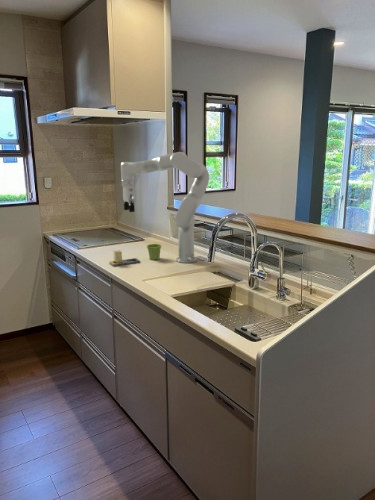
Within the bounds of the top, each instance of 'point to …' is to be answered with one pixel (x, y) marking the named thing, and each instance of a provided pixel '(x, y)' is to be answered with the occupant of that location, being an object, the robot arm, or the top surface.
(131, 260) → the rail
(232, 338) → the top surface
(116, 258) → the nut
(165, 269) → the top surface
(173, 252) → the top surface
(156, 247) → the plant pot
